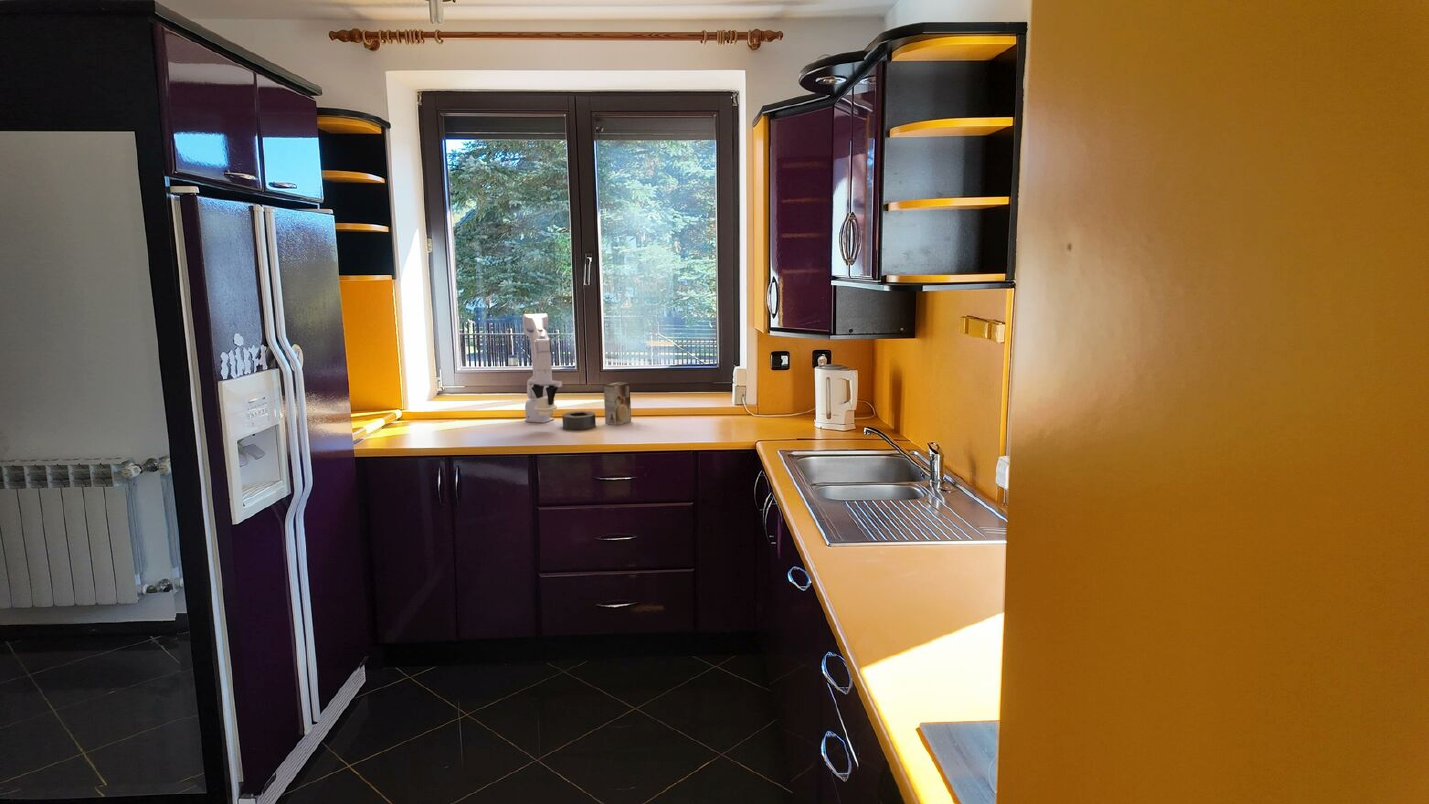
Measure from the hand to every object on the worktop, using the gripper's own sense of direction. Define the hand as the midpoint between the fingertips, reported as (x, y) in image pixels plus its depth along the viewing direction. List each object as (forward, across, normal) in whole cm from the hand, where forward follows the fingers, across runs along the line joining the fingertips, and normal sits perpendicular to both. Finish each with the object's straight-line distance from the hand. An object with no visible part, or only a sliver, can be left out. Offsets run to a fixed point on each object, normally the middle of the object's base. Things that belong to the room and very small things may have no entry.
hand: (545, 404), depth 324 cm
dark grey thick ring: (+10, +8, +10) cm, 17 cm away
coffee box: (+11, +19, +22) cm, 31 cm away
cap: (+4, 0, 0) cm, 4 cm away
